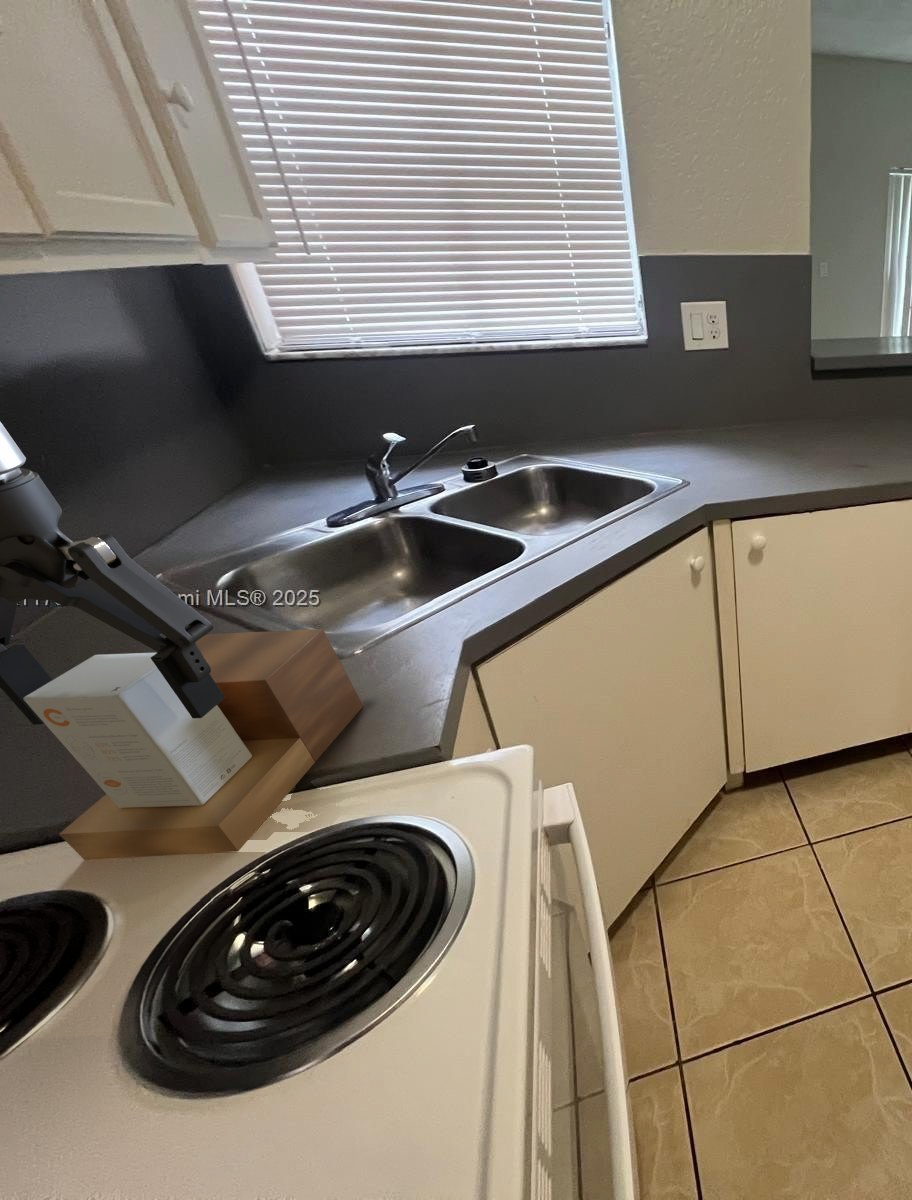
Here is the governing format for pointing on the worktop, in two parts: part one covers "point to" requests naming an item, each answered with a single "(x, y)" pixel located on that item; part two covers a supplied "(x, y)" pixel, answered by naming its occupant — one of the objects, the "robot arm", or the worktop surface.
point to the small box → (138, 733)
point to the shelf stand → (269, 731)
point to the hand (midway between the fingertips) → (131, 711)
